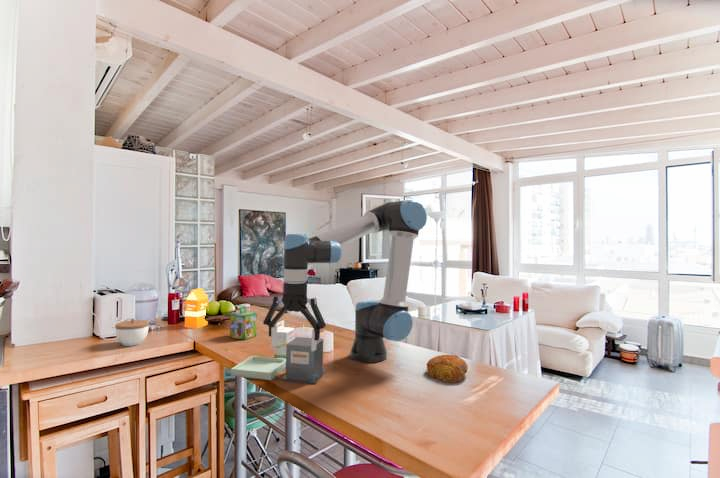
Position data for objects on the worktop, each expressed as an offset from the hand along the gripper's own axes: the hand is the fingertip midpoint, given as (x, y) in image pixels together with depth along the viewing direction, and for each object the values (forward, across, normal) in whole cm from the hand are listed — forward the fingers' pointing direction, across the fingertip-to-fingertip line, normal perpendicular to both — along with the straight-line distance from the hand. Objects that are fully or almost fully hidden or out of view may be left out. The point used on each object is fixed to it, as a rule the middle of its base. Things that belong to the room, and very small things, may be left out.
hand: (293, 348), depth 115 cm
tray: (+13, +17, -12) cm, 24 cm away
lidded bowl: (+13, +86, -27) cm, 91 cm away
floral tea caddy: (+13, +46, -51) cm, 70 cm away
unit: (+13, 0, -11) cm, 17 cm away
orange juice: (+13, +81, -64) cm, 104 cm away
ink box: (+13, +14, -26) cm, 32 cm away
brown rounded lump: (+13, -49, -26) cm, 57 cm away
